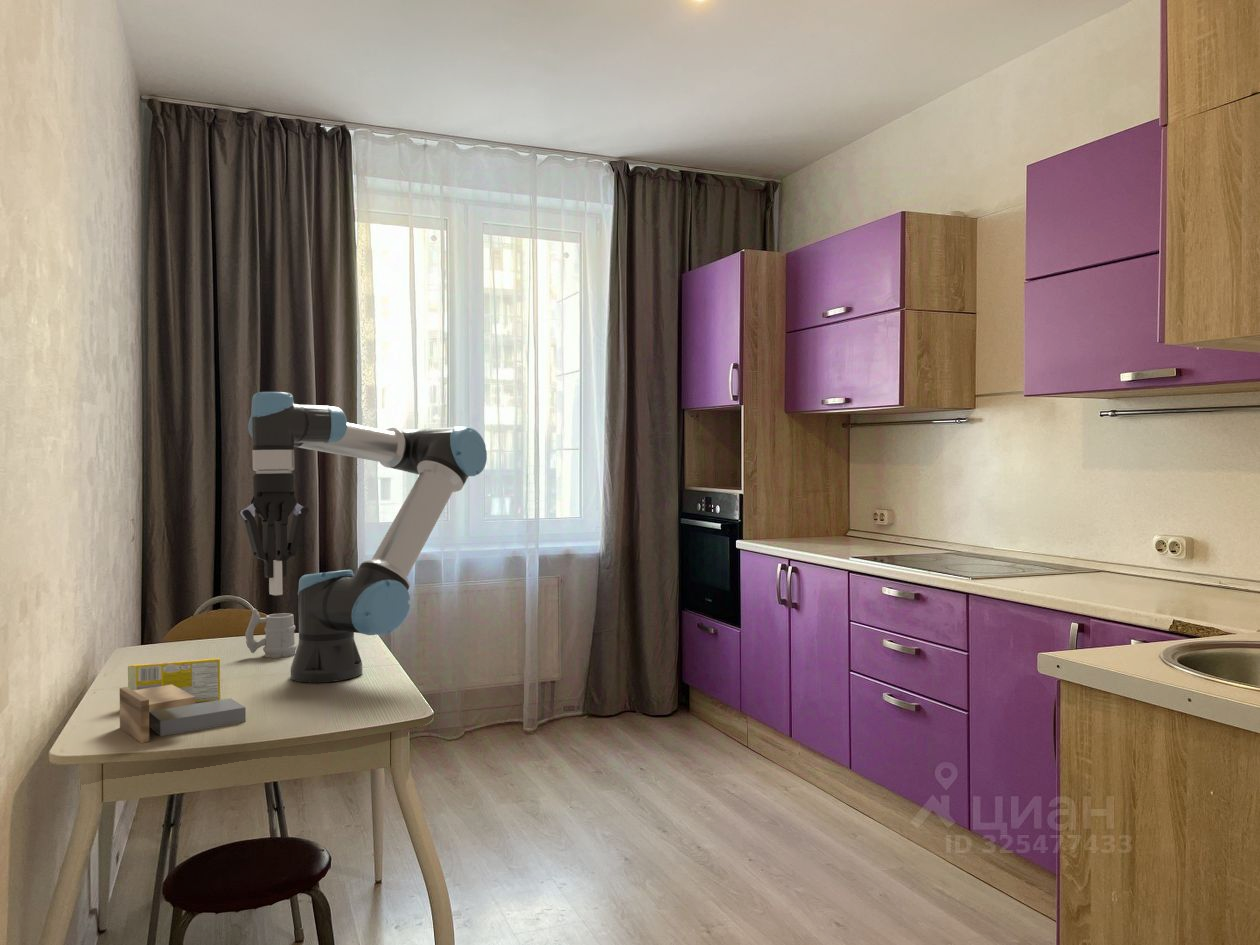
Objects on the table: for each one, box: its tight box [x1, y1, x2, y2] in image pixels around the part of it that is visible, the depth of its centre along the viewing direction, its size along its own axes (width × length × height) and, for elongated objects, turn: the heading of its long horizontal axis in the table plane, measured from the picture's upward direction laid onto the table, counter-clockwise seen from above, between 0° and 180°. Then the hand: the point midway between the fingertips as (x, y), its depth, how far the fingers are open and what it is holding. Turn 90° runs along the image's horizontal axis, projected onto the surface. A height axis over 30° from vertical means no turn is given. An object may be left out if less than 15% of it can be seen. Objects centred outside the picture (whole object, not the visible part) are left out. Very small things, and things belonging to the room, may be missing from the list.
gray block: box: [149, 697, 247, 737], centre depth 163 cm, size 14×9×3 cm, turn 130°
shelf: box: [119, 685, 196, 744], centre depth 158 cm, size 9×13×7 cm, turn 43°
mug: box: [244, 608, 298, 659], centre depth 223 cm, size 8×12×12 cm, turn 120°
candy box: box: [127, 657, 221, 703], centre depth 177 cm, size 16×2×8 cm, turn 110°
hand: (276, 594), depth 174 cm, fingers closed
